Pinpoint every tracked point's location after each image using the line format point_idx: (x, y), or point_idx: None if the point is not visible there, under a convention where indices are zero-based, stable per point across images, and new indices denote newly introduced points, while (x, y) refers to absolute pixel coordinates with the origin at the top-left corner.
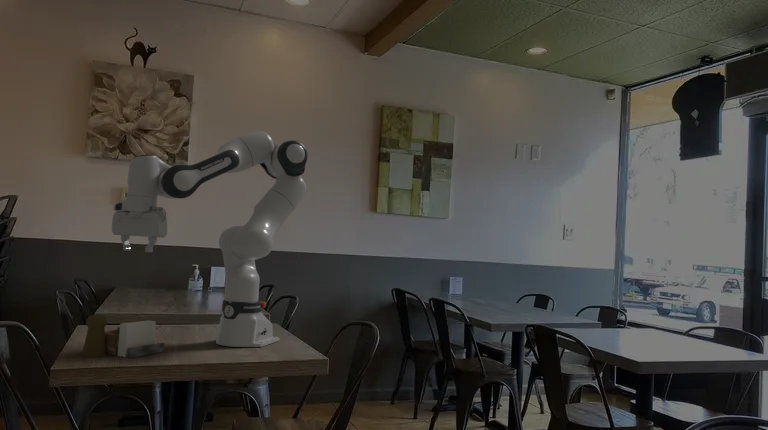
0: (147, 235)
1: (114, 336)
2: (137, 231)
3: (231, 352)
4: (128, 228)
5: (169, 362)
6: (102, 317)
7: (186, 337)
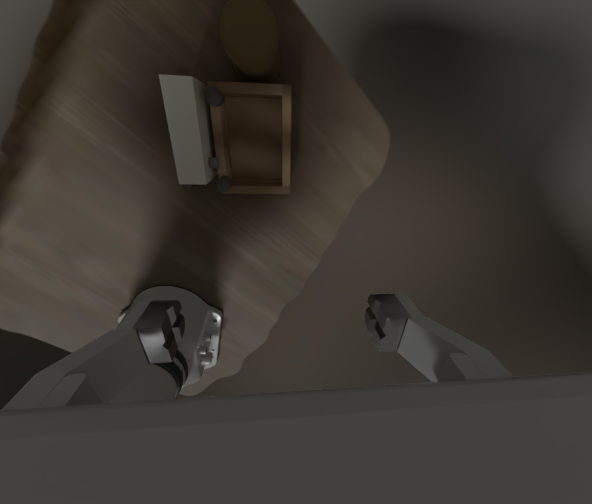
0: (3, 421)
1: (218, 81)
2: (207, 464)
3: (107, 258)
4: (447, 501)
5: (76, 108)
6: (223, 29)
7: (278, 301)
